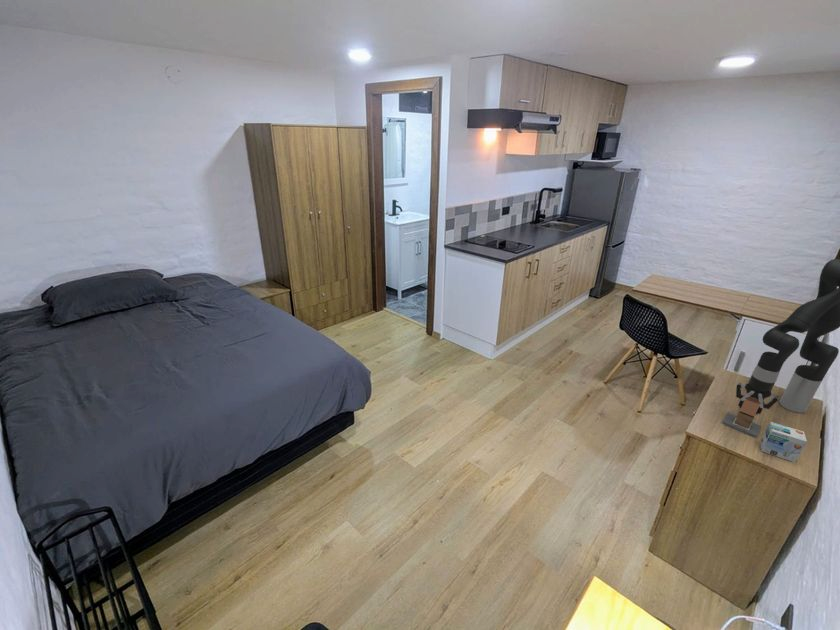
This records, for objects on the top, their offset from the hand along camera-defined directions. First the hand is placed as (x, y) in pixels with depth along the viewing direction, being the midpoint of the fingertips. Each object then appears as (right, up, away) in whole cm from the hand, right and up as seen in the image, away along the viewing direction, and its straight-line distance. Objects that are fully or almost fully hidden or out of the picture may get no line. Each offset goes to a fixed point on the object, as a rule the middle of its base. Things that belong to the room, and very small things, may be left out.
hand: (748, 410), depth 166 cm
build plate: (0, -8, +4) cm, 9 cm away
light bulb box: (+3, -15, -10) cm, 18 cm away
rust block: (0, 0, 0) cm, 0 cm away
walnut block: (0, -7, +3) cm, 7 cm away
